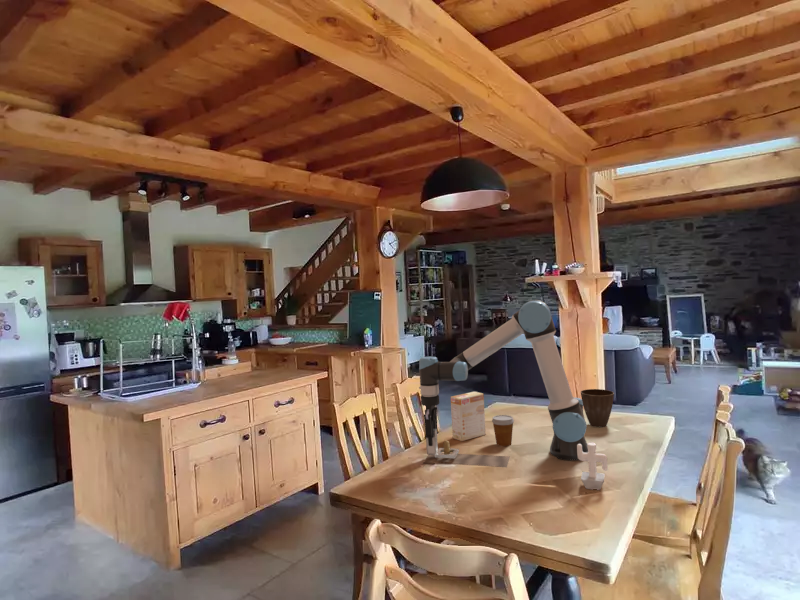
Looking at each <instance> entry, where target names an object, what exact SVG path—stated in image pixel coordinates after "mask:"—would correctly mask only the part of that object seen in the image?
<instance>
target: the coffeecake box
mask: <svg viewBox="0 0 800 600" xmlns="http://www.w3.org/2000/svg"><path fill="white" fill-rule="evenodd" d="M484 396H485V395H484V393H482V392H478V391H471V392H466V393H462V394H457V395H453V396H450V411H451V412H450V415H451V430H452V431H451V433H452V439H454V440H458V441H460V442H463V441H467V440H472V439H473V438H474V439H475V438H478V437H481V436H485V435H486V418H485V416H486V415H485V397H484Z"/></svg>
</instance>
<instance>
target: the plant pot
mask: <svg viewBox="0 0 800 600" xmlns="http://www.w3.org/2000/svg"><path fill="white" fill-rule="evenodd" d="M580 396H581V399H582V401H583V411H584V412H585V416H586V418H587V421H588V423H589V425H590V427H594V428H605V427H607V426H608V422H609V420H610V416H611V413H612V408H613V403H614V397H615V392H614V391H611V390H610V389H609V390H608V389H601V388H600V389H598V388H597V389H596V388H590V389H582V390H580Z"/></svg>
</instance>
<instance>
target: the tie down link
mask: <svg viewBox="0 0 800 600" xmlns="http://www.w3.org/2000/svg"><path fill="white" fill-rule="evenodd" d="M437 429H438V428H437ZM437 429H433V436H434V443H435V454H433V453H428V441H427V438H425V445H426V447H425V448H426V455H427V456H428V455H435V457H437V458H456V456H457V454H459V452H460V448H450V453H452V454H441V453H444V447H439V446H438V434H437V432H438V430H437Z"/></svg>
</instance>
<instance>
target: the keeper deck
mask: <svg viewBox="0 0 800 600" xmlns="http://www.w3.org/2000/svg"><path fill="white" fill-rule="evenodd" d="M450 445H451V444H450V441H449V440H447V439H446V440H444V441H443V448H444V452H442V453H441V454H452V452H450ZM509 461H510V456H509V455H508V456H506V455H488V454H470V453H458V454H457V456H456V458H437V457H435V455H427V456H426V458H425V459H424V460H423V463H422V464H425V465H435V464H447V465H464V466H465V465H466V466H481V467H494V468H495V467H496V468H497V467H499V468H508V464H509Z"/></svg>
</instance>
